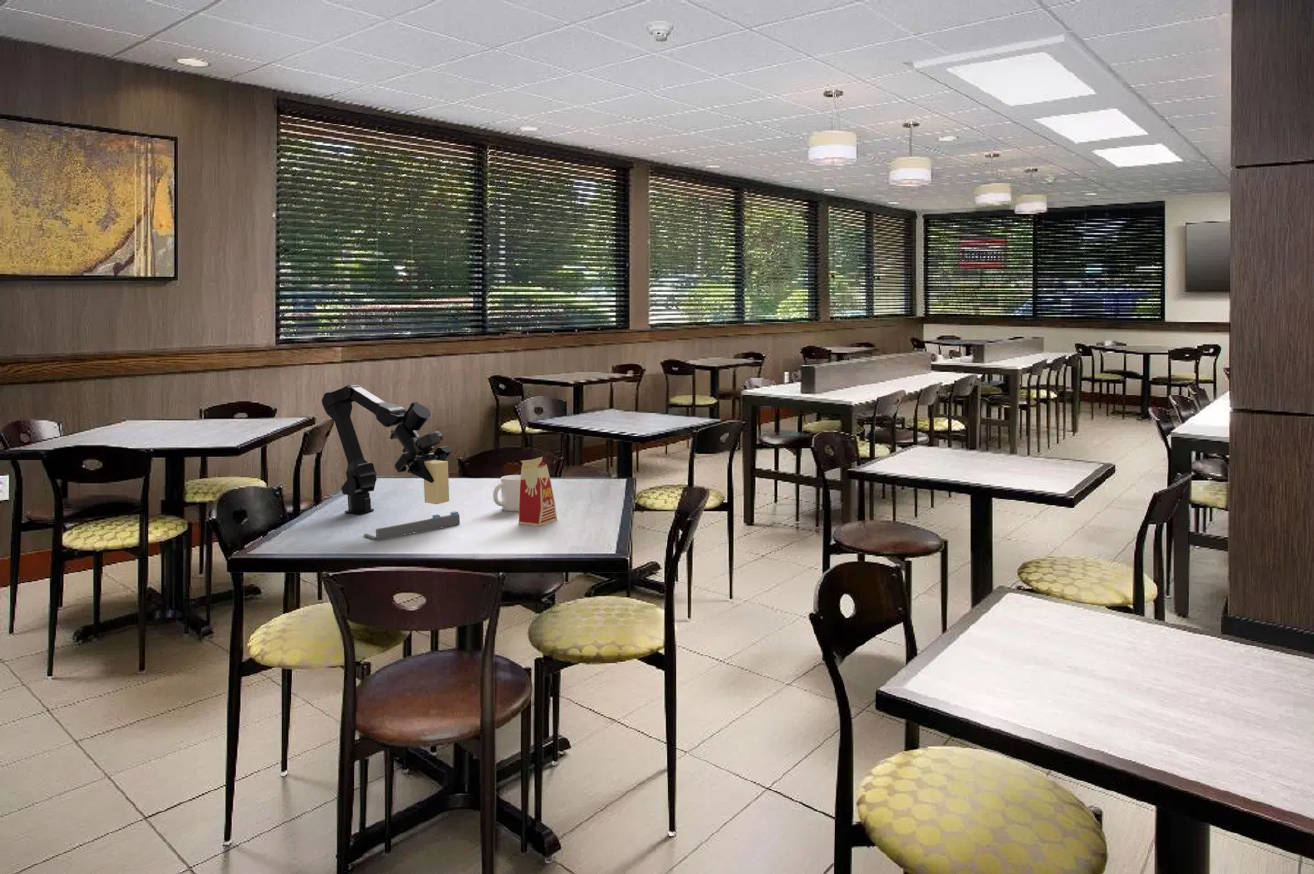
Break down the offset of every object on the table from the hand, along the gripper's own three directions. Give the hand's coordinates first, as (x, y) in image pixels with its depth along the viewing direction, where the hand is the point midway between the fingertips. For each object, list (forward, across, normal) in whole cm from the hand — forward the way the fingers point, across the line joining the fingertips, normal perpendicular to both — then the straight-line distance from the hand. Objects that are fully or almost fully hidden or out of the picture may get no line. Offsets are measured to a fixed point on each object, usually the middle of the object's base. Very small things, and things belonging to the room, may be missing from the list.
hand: (439, 480), depth 259 cm
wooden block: (+4, 0, +6) cm, 7 cm away
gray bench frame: (+8, -9, +11) cm, 16 cm away
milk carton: (+26, +16, -7) cm, 31 cm away
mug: (+13, +26, +6) cm, 29 cm away
